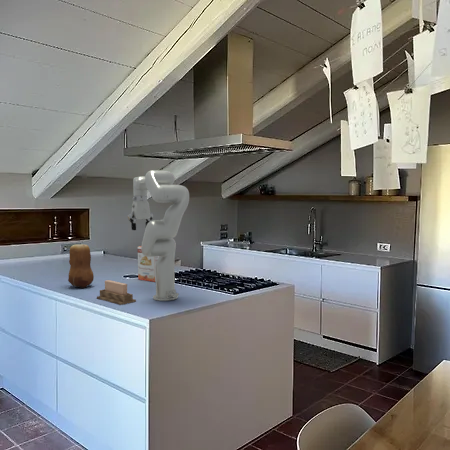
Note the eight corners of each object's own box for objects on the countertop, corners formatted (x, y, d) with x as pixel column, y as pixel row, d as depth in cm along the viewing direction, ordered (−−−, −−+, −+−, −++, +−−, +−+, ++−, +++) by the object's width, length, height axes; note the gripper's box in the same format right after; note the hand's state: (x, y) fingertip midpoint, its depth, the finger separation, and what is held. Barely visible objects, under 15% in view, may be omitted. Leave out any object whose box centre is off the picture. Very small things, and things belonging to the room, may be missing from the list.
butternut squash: (87, 283, 275) (86, 242, 273) (97, 287, 265) (96, 244, 263) (64, 287, 266) (63, 244, 264) (74, 290, 256) (72, 246, 254)
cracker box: (137, 279, 287) (137, 246, 285) (144, 278, 292) (143, 245, 290) (154, 282, 279) (153, 247, 277) (161, 280, 284) (160, 246, 282)
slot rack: (135, 301, 230) (135, 293, 229) (120, 305, 223) (120, 296, 223) (111, 295, 244) (111, 287, 243) (96, 298, 237) (96, 290, 237)
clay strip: (127, 300, 229) (127, 284, 228) (123, 300, 227) (122, 284, 226) (109, 295, 240) (108, 280, 239) (105, 296, 238) (104, 280, 237)
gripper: (131, 199, 250) (132, 230, 251) (156, 199, 263) (157, 228, 264) (123, 199, 255) (124, 230, 256) (148, 198, 268) (149, 228, 269)
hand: (140, 229), depth 260 cm, fingers open, 9 cm apart
